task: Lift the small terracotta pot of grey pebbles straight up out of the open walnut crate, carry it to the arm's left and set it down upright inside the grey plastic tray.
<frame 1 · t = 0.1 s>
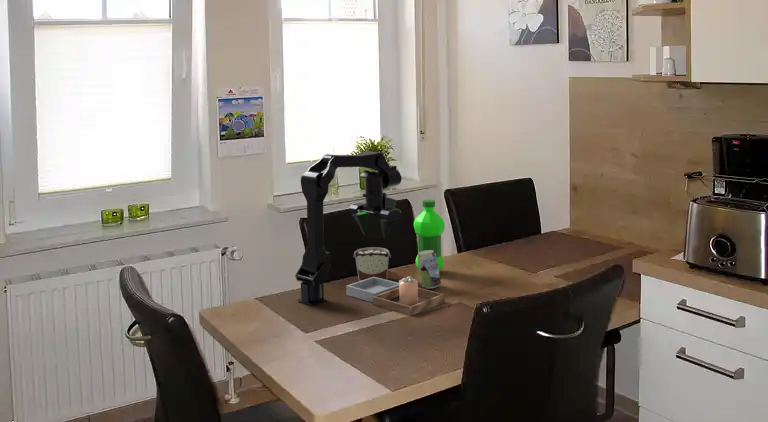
hand: (375, 236, 262), 15 cm above the table, tool pointing down, fingers open, 9 cm apart
beverage can: (429, 287, 256), on the table
plastic bottle: (429, 273, 271), on the table
crate: (408, 303, 241), on the table
food container: (373, 278, 267), on the table
tray: (374, 293, 250), on the table
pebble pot: (408, 290, 240), in the crate
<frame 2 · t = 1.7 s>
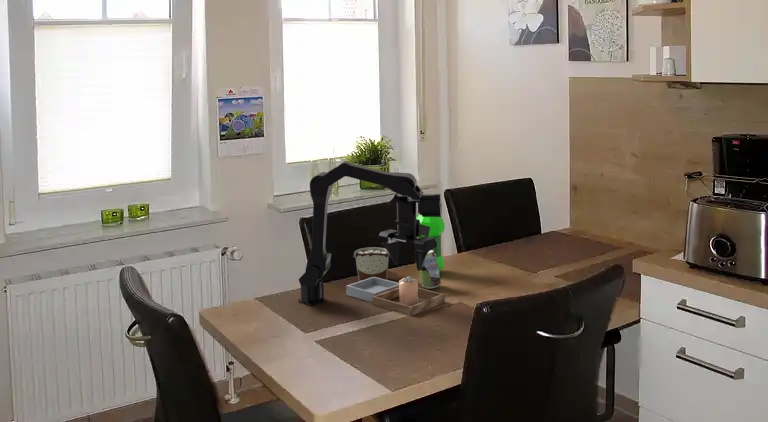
hand: (407, 267, 238), 11 cm above the table, tool pointing down, fingers open, 9 cm apart
nothing on the table moved.
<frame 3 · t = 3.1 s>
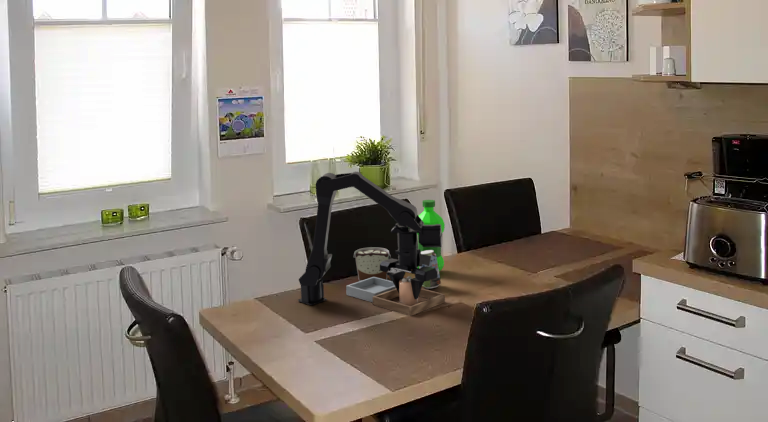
hand: (408, 296, 240), 2 cm above the table, tool pointing down, fingers closed on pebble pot, 6 cm apart
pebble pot: (408, 290, 240), in the crate, touching gripper
everything else where it was.
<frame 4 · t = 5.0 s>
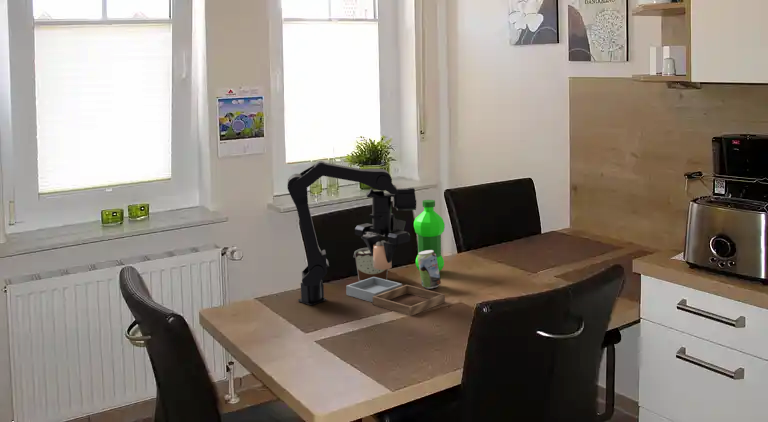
hand: (382, 260, 245), 12 cm above the table, tool pointing down, fingers closed on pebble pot, 6 cm apart
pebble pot: (382, 254, 245), point 14 cm above the table, touching gripper
everything else where it was.
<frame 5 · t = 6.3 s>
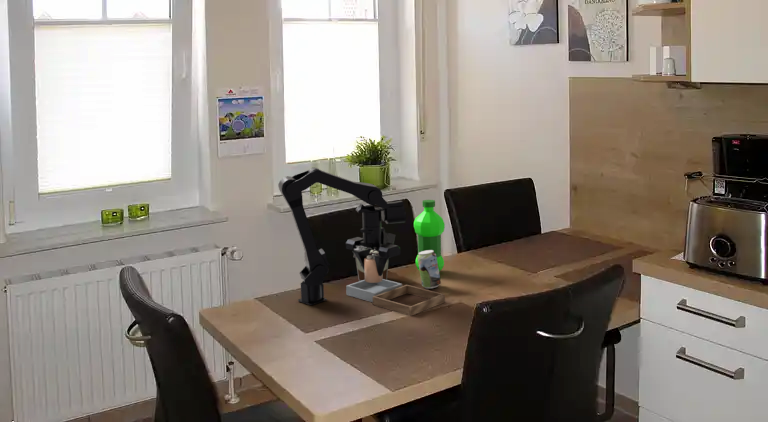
hand: (373, 273, 249), 7 cm above the table, tool pointing down, fingers closed on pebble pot, 6 cm apart
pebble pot: (373, 267, 249), point 9 cm above the table, touching gripper
everything else where it was.
when the fingers open (4 cm above the table, at t = 7.2 s): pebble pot drops 2 cm, resting on tray.
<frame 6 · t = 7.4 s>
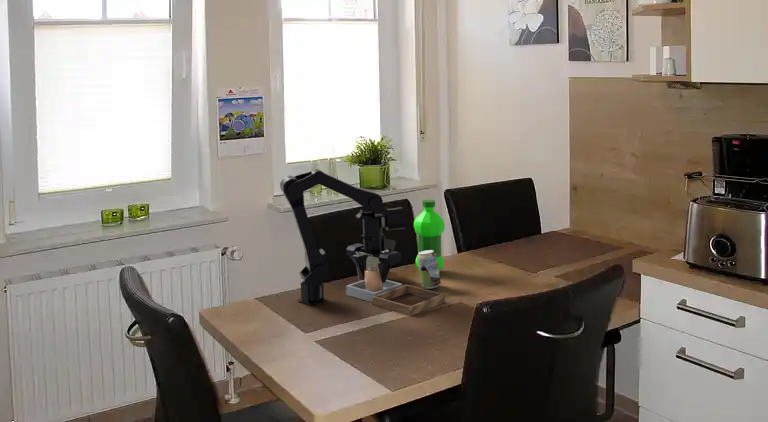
hand: (373, 280, 250), 4 cm above the table, tool pointing down, fingers open, 8 cm apart
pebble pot: (373, 278, 250), in the tray, point 5 cm above the table
everything else where it was.
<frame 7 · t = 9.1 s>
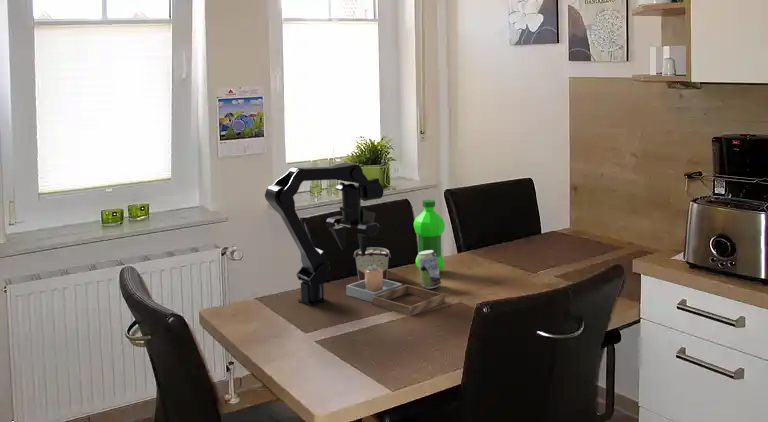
hand: (353, 251, 251), 13 cm above the table, tool pointing down, fingers open, 9 cm apart
nothing on the table moved.
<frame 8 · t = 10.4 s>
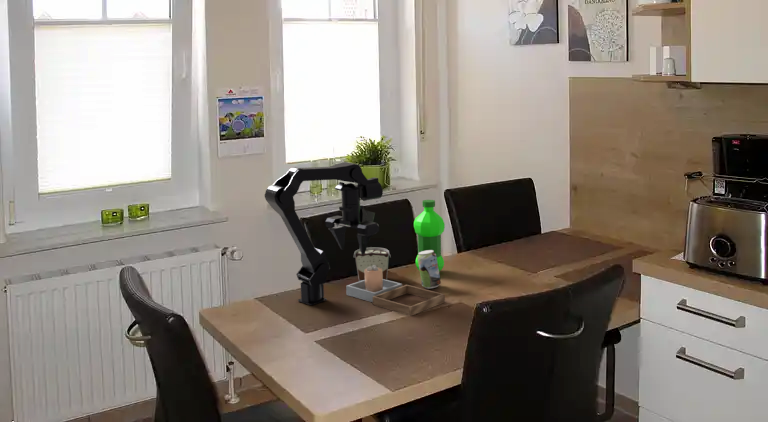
hand: (352, 251, 251), 13 cm above the table, tool pointing down, fingers open, 9 cm apart
nothing on the table moved.
at the end: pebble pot inside the target area on the tray (0.1 cm from its centre), point 4.9 cm above the tray's base; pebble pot tilted 1°; the gripper is holding nothing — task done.
